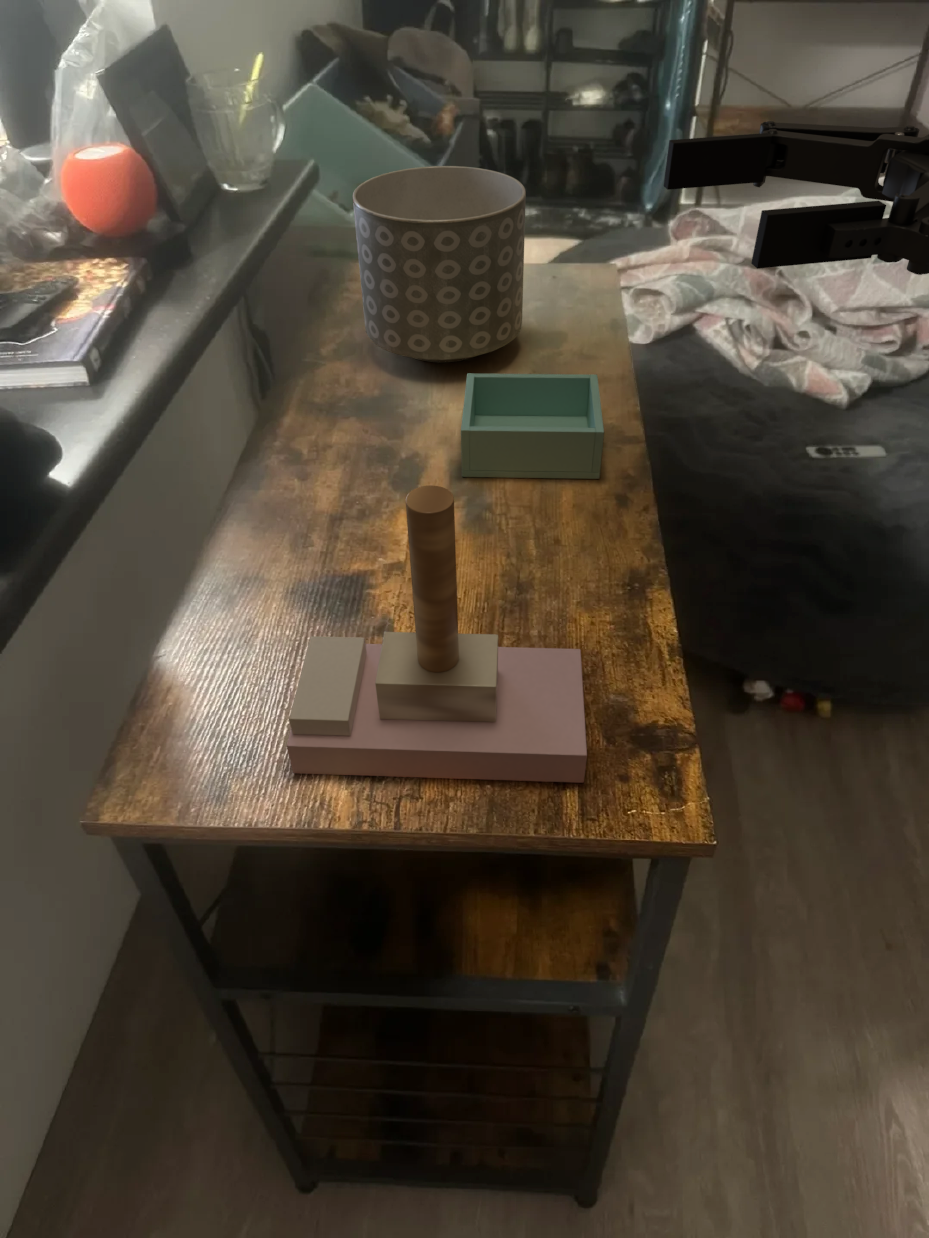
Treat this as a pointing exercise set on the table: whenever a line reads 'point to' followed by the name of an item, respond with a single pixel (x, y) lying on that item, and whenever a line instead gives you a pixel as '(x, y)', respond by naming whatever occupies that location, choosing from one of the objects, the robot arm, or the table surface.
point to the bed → (503, 750)
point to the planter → (441, 260)
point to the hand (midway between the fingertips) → (708, 199)
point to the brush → (436, 631)
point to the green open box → (532, 426)
